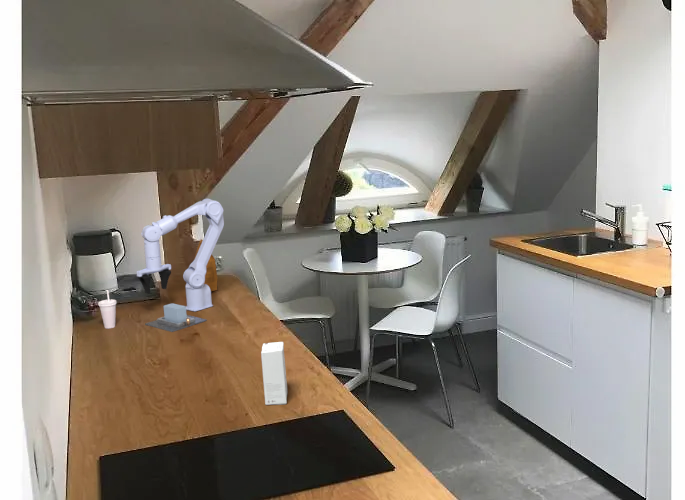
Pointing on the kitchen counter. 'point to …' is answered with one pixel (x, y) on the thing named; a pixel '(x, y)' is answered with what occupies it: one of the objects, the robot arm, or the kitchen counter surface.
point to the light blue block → (175, 312)
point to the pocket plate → (175, 323)
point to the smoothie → (108, 311)
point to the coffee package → (210, 271)
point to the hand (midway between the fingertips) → (156, 291)
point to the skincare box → (274, 373)
